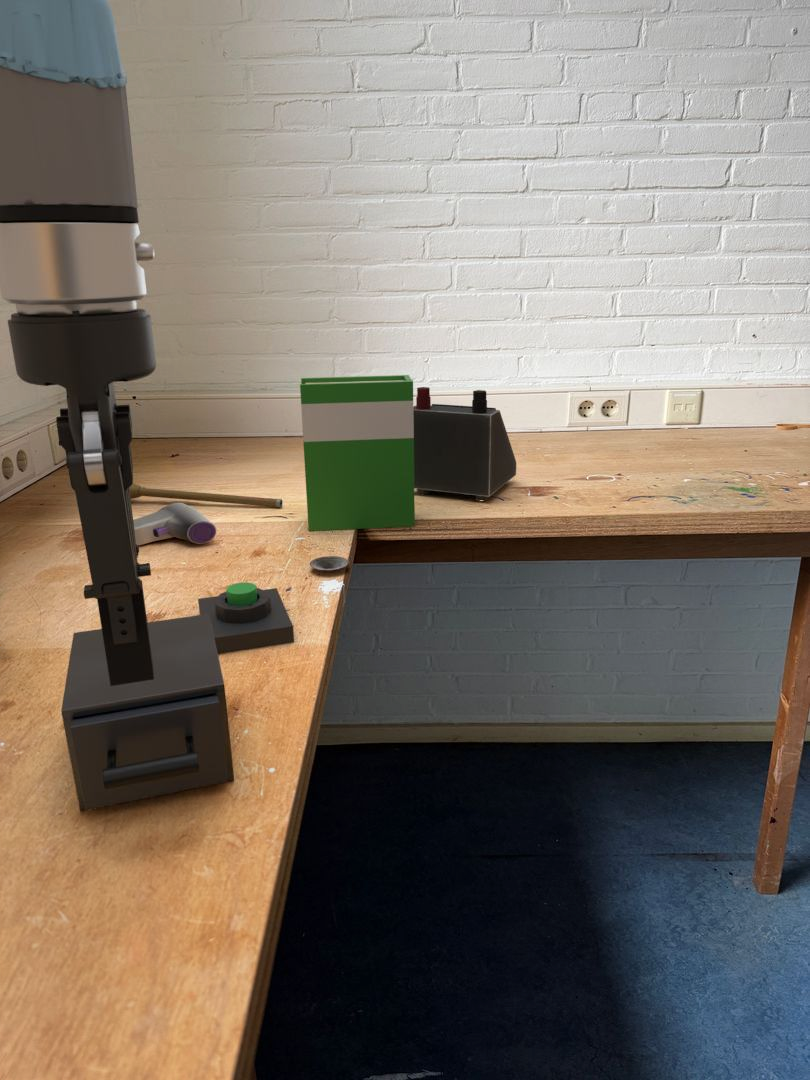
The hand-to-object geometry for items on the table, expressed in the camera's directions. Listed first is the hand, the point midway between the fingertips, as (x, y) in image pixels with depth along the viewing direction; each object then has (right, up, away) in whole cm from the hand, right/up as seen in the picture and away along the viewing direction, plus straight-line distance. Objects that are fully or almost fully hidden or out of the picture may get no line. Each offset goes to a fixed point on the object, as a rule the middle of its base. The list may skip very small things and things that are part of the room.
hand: (132, 677), depth 53 cm
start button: (-2, +2, +44) cm, 44 cm away
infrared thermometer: (-21, +8, +74) cm, 77 cm away
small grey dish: (+7, +4, +63) cm, 63 cm away
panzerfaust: (-22, +15, +95) cm, 98 cm away
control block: (-2, -2, +45) cm, 45 cm away
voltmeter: (+29, +19, +102) cm, 108 cm away
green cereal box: (+11, +12, +83) cm, 85 cm away
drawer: (-4, -11, +17) cm, 21 cm away
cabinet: (-5, -10, +21) cm, 24 cm away
